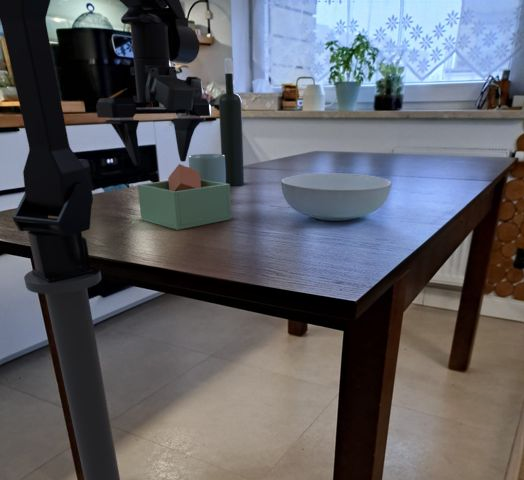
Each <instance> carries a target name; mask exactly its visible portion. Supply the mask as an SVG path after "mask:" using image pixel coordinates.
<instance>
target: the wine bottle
mask: <svg viewBox="0 0 524 480" xmlns="http://www.w3.org/2000/svg"><path fill="white" fill-rule="evenodd" d="M223 63H224V76H225V77H224V80H225V93H223V94H222V95H220V97H219V99H218V111H219V131H220V154H222V155H224V156H225V167H226V184H230V187H239V186H243V185H244V184H245V175H244V170H245V169H244V144H243V142H244V141H243V140H244V138H243V137H244V135H243V110H242V108H243V107H242V105H243V104H242V98H241V96H240V95H239V94H238V93H235V91H234V58H233V57H224V60H223Z"/></svg>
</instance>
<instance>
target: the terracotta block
mask: <svg viewBox="0 0 524 480" xmlns="http://www.w3.org/2000/svg"><path fill="white" fill-rule="evenodd" d="M167 181H169V190H171V191H181V190H188V189H195V188H201V182H200V174H199V171H197V170H194V169H191V168H189V166H185V165H184V164H180V163H178V165H177V166H176V167H175V169H174V170H173V171H172V172H171V173H170V175H169V176H168V177H167Z"/></svg>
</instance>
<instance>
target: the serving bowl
mask: <svg viewBox="0 0 524 480" xmlns="http://www.w3.org/2000/svg"><path fill="white" fill-rule="evenodd" d="M280 185H281V186H280V187H281V191H282V195H283V198H284V200H285V201H286V204H287V205H289V207H291V208H292V209H293V210H294V211H296V212H298V213H299V214H301V215H305V216H309V217H310V218H313V219H315V220H320V221H328V222H329V221H330V222H345V221H351V220H355V219H356V218H361V217H364V216H368V215H371V214H373V213H374V212H376V211H378V210H379V209H380V208H381V207H383V206H384V204H385V203H386V201H387V199H388V198H389V195H390V192H391V188H392V185H393V184H392V182H391V180H389V179H386V178H384V177H380V176H375V175H367V174H357V173H341V172H339V173H337V172H334V173H332V172H323V173H306V174H305V173H303V174H296V175H291V176H287V177H284V178H282V179H281V180H280Z"/></svg>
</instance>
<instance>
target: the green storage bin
mask: <svg viewBox="0 0 524 480" xmlns="http://www.w3.org/2000/svg"><path fill="white" fill-rule="evenodd" d="M200 182H201V188H195V189H188V190H181V191H171V190H169V181H168V180H163V181H157V182H149V183H141V184H137V185H136V186H137V192H138V201H139V209H140V210H139V211H140V218H141V220H142V221H145V222H149V223H152V224H155V225H159V226H163V227H166V228H169V229H173V230H176V231H179V230H184V229H189V228H194V227H200V226H205V225H209V224H214V223H219V222H224V221H229V220H232V204H231V186H230V184H226V183H220V182H214V181H207V180H201V179H200Z"/></svg>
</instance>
